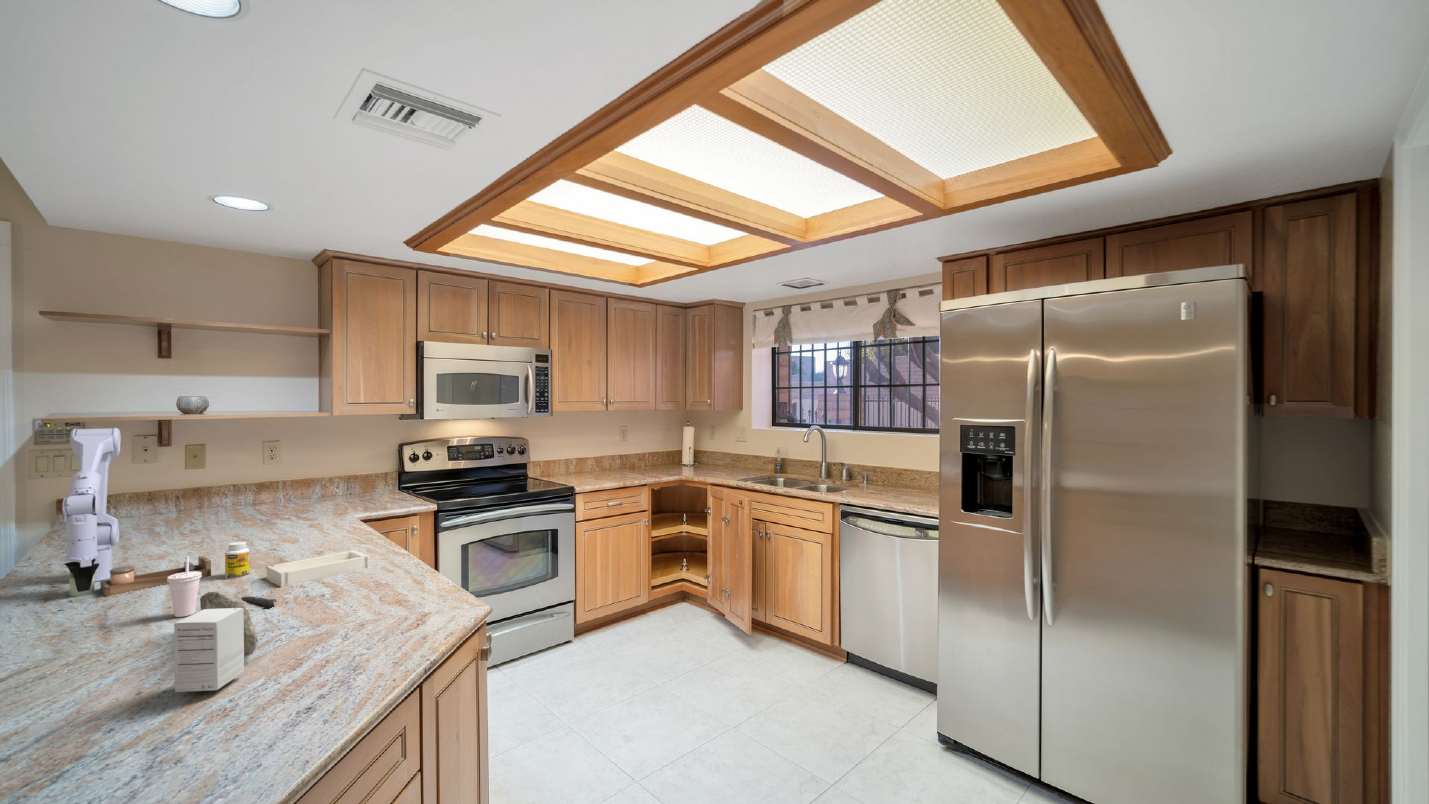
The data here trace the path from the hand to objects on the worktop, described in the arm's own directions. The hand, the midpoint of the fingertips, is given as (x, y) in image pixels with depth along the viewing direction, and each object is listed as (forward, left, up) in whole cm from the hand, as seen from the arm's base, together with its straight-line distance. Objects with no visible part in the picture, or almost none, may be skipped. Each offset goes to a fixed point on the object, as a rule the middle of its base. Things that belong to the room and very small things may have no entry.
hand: (82, 589), depth 160 cm
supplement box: (+92, +7, -2) cm, 92 cm away
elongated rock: (+73, +14, -2) cm, 74 cm away
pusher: (+4, +21, -1) cm, 21 cm away
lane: (+4, +14, -1) cm, 15 cm away
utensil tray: (+31, +46, -1) cm, 55 cm away
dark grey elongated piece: (+44, +26, -6) cm, 51 cm away
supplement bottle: (+15, +30, -2) cm, 34 cm away
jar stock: (+4, +7, -2) cm, 8 cm away
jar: (0, 0, -1) cm, 1 cm away
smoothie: (+42, +13, -2) cm, 44 cm away
